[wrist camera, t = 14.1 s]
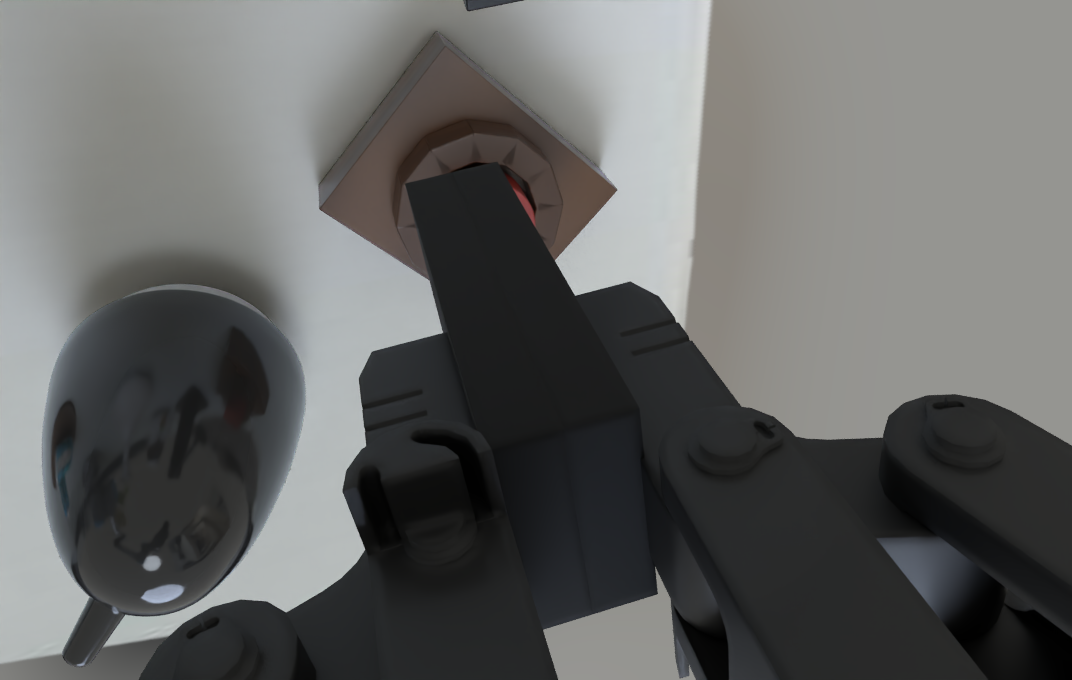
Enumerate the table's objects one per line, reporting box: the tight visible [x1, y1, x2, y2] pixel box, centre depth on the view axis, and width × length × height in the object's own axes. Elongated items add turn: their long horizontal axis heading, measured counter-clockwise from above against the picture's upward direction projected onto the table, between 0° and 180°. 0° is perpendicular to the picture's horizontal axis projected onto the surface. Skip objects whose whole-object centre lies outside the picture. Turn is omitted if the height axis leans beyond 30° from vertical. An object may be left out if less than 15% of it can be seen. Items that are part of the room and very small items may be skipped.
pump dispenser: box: [42, 284, 306, 667], centre depth 33 cm, size 10×10×15 cm
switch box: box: [319, 31, 617, 280], centre depth 36 cm, size 10×8×4 cm
